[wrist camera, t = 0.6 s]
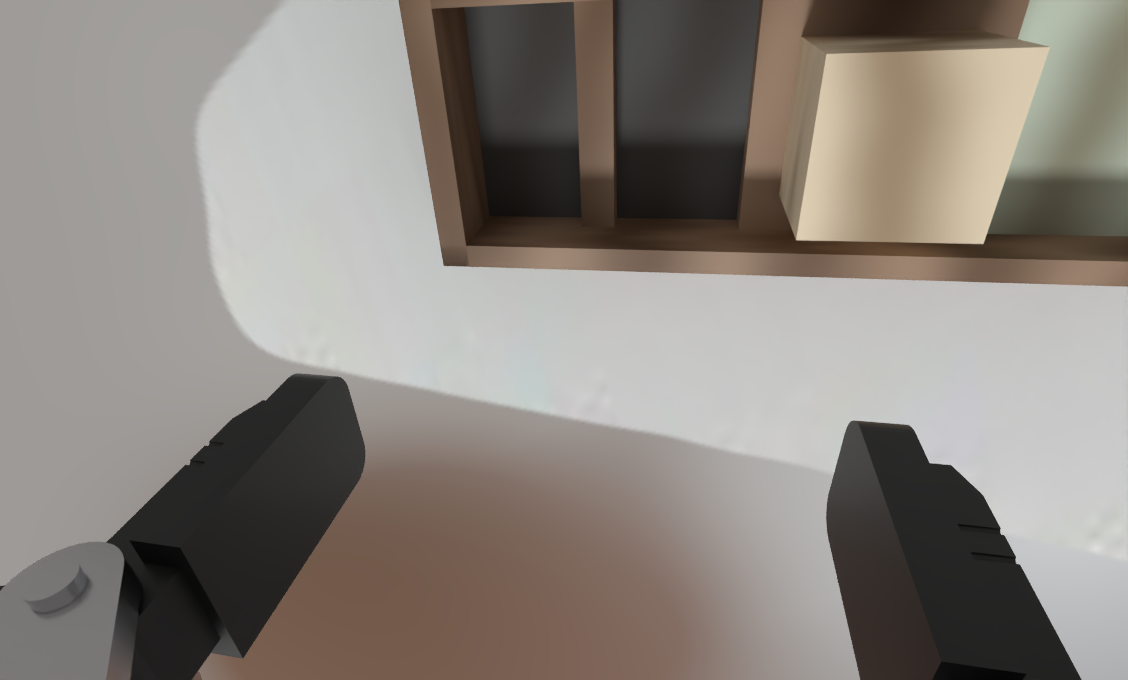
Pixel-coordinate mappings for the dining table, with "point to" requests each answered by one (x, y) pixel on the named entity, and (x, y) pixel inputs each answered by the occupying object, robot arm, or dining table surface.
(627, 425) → the dining table surface
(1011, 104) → the oak block
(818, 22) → the track
